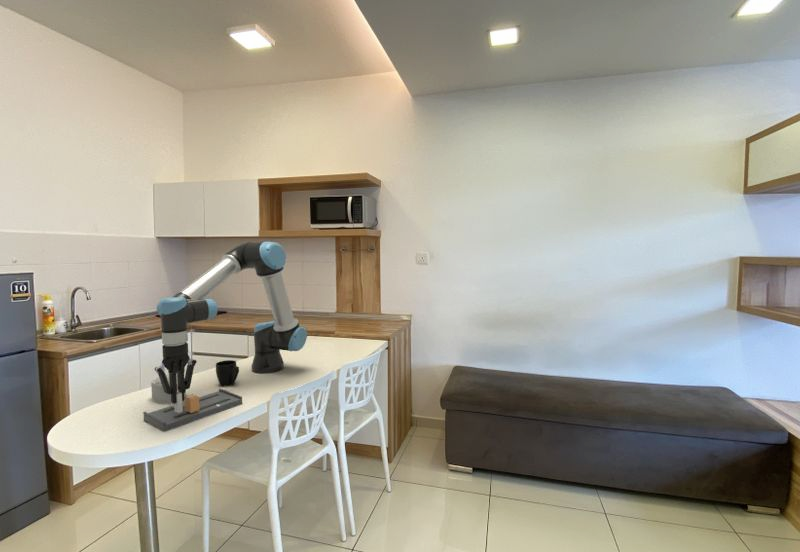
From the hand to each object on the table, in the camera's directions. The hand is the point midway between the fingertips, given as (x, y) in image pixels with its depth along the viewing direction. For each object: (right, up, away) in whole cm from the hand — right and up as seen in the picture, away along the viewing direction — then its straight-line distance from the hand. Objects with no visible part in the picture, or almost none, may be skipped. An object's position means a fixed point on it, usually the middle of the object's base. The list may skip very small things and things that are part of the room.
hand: (178, 411), depth 135 cm
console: (+1, -3, +9) cm, 9 cm away
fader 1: (-4, -1, +8) cm, 9 cm away
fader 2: (+3, -1, +4) cm, 5 cm away
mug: (+2, -1, +37) cm, 37 cm away
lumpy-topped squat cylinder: (-15, -3, +22) cm, 27 cm away
